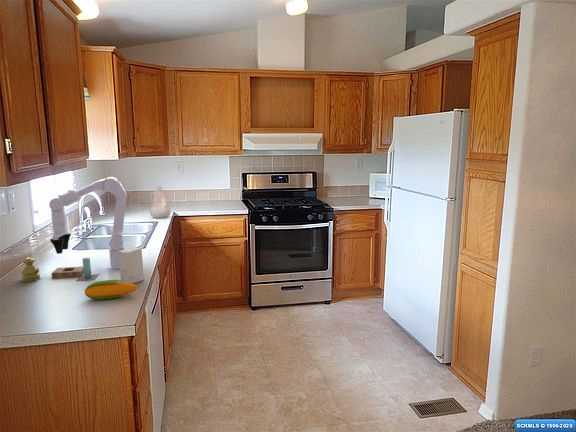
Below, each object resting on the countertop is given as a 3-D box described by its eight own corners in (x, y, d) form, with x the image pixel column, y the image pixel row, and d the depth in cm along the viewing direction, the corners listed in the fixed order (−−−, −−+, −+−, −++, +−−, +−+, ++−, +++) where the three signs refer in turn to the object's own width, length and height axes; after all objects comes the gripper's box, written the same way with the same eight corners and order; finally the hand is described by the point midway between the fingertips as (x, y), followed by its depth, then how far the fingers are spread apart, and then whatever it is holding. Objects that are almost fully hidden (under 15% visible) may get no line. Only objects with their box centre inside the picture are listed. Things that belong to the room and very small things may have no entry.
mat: (99, 274, 199) (99, 273, 199) (94, 281, 191) (94, 280, 190) (81, 275, 198) (81, 275, 198) (75, 282, 189) (75, 281, 189)
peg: (92, 276, 196) (90, 257, 194) (90, 278, 193) (88, 259, 191) (85, 276, 195) (83, 257, 194) (83, 278, 192) (81, 259, 191)
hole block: (85, 272, 203) (84, 266, 202) (80, 277, 195) (80, 271, 194) (58, 273, 201) (57, 267, 200) (52, 279, 193) (51, 273, 192)
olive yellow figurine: (21, 283, 188) (18, 261, 186) (21, 278, 194) (18, 257, 192) (40, 280, 192) (38, 258, 190) (40, 275, 198) (37, 254, 196)
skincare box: (136, 277, 195) (134, 246, 192) (144, 280, 191) (142, 248, 189) (120, 283, 188) (117, 250, 185) (128, 285, 185) (125, 252, 182)
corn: (85, 278, 170) (138, 274, 176) (87, 296, 172) (139, 291, 178) (82, 285, 164) (137, 280, 169) (84, 304, 165) (138, 298, 171)
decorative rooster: (150, 216, 346) (148, 185, 342) (170, 214, 351) (168, 184, 346) (149, 221, 323) (147, 189, 318) (171, 220, 327) (169, 188, 323)
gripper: (55, 220, 206) (58, 247, 209) (44, 226, 192) (47, 255, 194) (71, 219, 207) (74, 247, 210) (61, 225, 193) (64, 255, 196)
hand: (62, 251), depth 202 cm, fingers open, 7 cm apart
